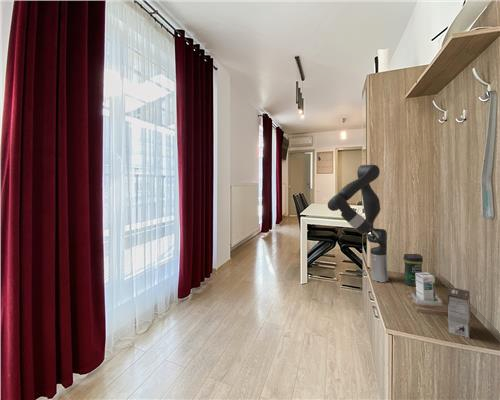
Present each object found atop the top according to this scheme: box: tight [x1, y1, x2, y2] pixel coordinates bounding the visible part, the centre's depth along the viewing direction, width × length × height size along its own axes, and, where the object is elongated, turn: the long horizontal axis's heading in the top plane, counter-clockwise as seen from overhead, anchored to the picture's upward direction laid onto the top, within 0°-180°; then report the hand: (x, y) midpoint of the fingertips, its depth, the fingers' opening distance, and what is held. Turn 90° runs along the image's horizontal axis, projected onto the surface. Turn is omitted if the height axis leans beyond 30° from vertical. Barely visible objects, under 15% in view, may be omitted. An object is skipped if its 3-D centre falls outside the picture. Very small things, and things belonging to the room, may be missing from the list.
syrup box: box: [415, 271, 436, 301], centre depth 117 cm, size 6×6×14 cm
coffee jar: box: [402, 253, 424, 287], centre depth 142 cm, size 10×8×19 cm
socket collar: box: [411, 290, 442, 308], centre depth 118 cm, size 10×10×3 cm
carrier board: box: [405, 290, 448, 316], centre depth 119 cm, size 20×14×2 cm
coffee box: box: [447, 286, 471, 339], centre depth 97 cm, size 9×6×16 cm
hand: (383, 244), depth 125 cm, fingers open, 8 cm apart
